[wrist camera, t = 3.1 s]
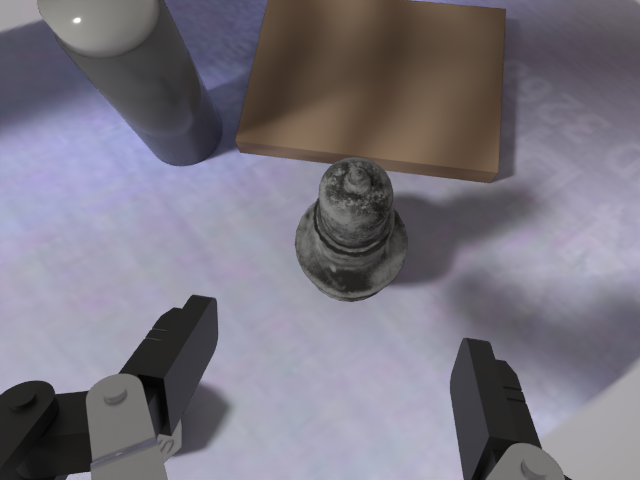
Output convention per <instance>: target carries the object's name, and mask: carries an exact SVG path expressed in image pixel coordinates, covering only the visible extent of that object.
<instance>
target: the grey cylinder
mask: <svg viewBox="0 0 640 480" xmlns="http://www.w3.org/2000/svg"><path fill="white" fill-rule="evenodd" d="M37 4H38V9H39V12H40V14H41V16H42V18H43V19H44V20H45V21H46V23H47V24H48V25H49V26H50V27H51V29H52V30H53V31H54V33H55V37H56V39H57V41H58V43H59V45H60V46H61V47H62V49H63V50H64V51H65V52H66V53H67V54H68V56H69V57H70V58H71V59H72V60H73V61H74V62H75V64H76V65H77V66H78V67H79V68H80V69H81V71H82V72H83V73H84V74H85V75H86V76H87V77H88V79H89V80H90V81H91V82H92V83H93V84H94V85H95V87H96V88H97V89H98V90H99V91H100V92H101V94H102V95H103V96H104V97H105V98H106V99H107V100H108V102H109V103H110V104H111V105H112V106H113V107H114V108H115V110H116V111H117V112H118V113H119V114H120V115H121V117H122V118H123V119H124V120H125V121H126V122H127V123H128V125H129V126H130V127H131V128H132V129H133V130H134V131H135V133H136V134H137V135H138V136H139V137H140V138H141V140H142V141H143V142H144V143H145V144H146V145H147V146H148V148H149V149H150V150H151V151H152V152H153V153H154V154H155V156H156V157H157V158H159V159H160V160H161V161H163V162H165V163H167V164H170V165H174V166H189V165H193V164H196V163H198V162H201V161H202V160H204V159H206V158H207V157H208V156H210V155H211V154H212V153H213V151H214V150H215V149H216V148H217V146H218V144H219V142H220V140H221V136H222V122H221V119H220V117H219V115H218V113H217V111H216V108H215V106H214V104H213V102H212V100H211V98H210V96H209V94H208V92H207V90H206V88H205V85H204V83H203V81H202V79H201V77H200V75H199V73H198V71H197V69H196V67H195V65H194V62H193V60H192V58H191V56H190V54H189V52H188V50H187V48H186V46H185V44H184V42H183V39H182V37H181V35H180V33H179V31H178V29H177V27H176V25H175V23H174V21H173V19H172V16H171V14H170V12H169V10H168V8H167V6H166V4H165V2H164V0H37Z"/></svg>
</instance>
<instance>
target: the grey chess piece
mask: <svg viewBox="0 0 640 480" xmlns="http://www.w3.org/2000/svg"><path fill="white" fill-rule="evenodd" d="M392 202H393V189H392V185H391V181H390V179H389V177H388V175H387V173H386V172H385V171H384V170H383V169H382V168H381V167H380V166H379V165H378V164H376V163H375V162H373V161H371V160H368V159H365V158H361V157H350V158H344V159H342V160H340V161H337V162H335V163H334V164H333V165H332V166H330V167H329V168H328V170H327V171H326V172H325V174H324V175H323V177H322V180H321V183H320V185H319V198H318V199H317V201H316V202H315V203H314V204H312V205H311V206H310V207H309V208H308V210H307V211H306V212H305V214H304V215H303V216H302V218H301V220H300V223H299V225H298V228H297V230H296V239H295V248H296V254H297V259H298V261H299V263H300V266H301V268H302V270H303V272H304V273H305V274H306V276H307V277H308V278H309V279H310V280H311V281H312V283H314V284H315V285H316V287H317V288H318V289H319V290H320V291H321V292H323V293H324V294H326V295H327V296H329V297H331V298H334V299H337V300H339V301H349V302H354V301H359V300H364V299H366V298H368V297H370V296H373V295H374V294H376V293H377V292H378V291H379V290H381V289H383V288H384V287H386V286H387V285H388V284H389V283H390V282H391V281H393V280H394V279H395V277H396V276H397V274H398V273H399V271H400V270H401V268H402V266H403V263H404V260H405V257H406V254H407V235H406V231H405V227H404V224H403V222H402V220H401V219H400V217H399V215H398V213H397V212H396V211H395V210H394V209H393V208H392Z"/></svg>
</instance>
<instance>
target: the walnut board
mask: <svg viewBox="0 0 640 480" xmlns="http://www.w3.org/2000/svg"><path fill="white" fill-rule="evenodd" d="M505 16H506V9H500V8H488V7H477V6H466V5H455V4H444V3H433V2H422V1H411V0H268V2H267V6H266V10H265V14H264V19H263V23H262V27H261V32H260V36H259V40H258V45H257V49H256V53H255V57H254V62H253V66H252V70H251V75H250V79H249V83H248V87H247V92H246V96H245V100H244V105H243V109H242V113H241V117H240V122H239V126H238V130H237V135H236V139H235V142H236V144H237V146H238V149H239V151H240V153H248V154H256V155H265V156H273V157H281V158H289V159H297V160H305V161H313V162H322V163H330V164H334V163H335V162H337V161H340V160H342V159H344V158H350V157H361V158H365V159H368V160H371V161H373V162H375V163H376V164H378V165H379V166H380V167H381V168H382V169H383V170H387V171H395V172H403V173H411V174H419V175H427V176H436V177H444V178H452V179H460V180H468V181H476V182H484V183H490V182H491V181H492V180H493V179H494V177H495V176H496V175H497V174H498V168H499V146H500V124H501V103H502V81H503V59H504V38H505Z"/></svg>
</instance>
